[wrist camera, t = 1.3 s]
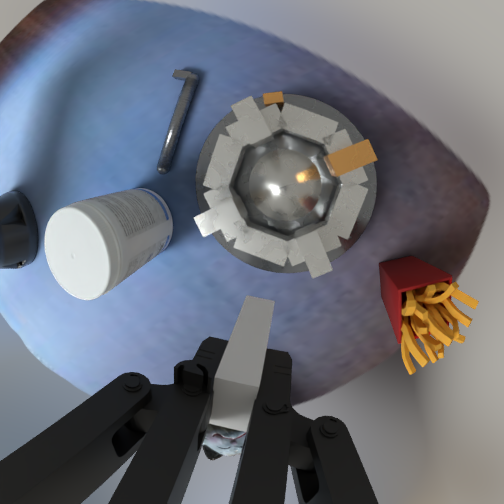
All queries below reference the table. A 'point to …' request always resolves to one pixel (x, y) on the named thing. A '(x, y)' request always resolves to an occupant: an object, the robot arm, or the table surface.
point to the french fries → (422, 307)
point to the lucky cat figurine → (222, 441)
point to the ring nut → (233, 209)
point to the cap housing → (286, 181)
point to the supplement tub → (106, 240)
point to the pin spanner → (177, 118)
